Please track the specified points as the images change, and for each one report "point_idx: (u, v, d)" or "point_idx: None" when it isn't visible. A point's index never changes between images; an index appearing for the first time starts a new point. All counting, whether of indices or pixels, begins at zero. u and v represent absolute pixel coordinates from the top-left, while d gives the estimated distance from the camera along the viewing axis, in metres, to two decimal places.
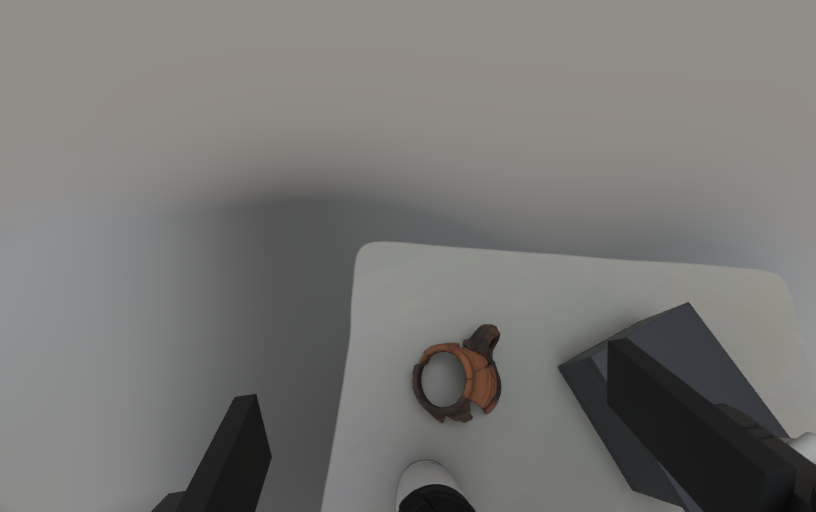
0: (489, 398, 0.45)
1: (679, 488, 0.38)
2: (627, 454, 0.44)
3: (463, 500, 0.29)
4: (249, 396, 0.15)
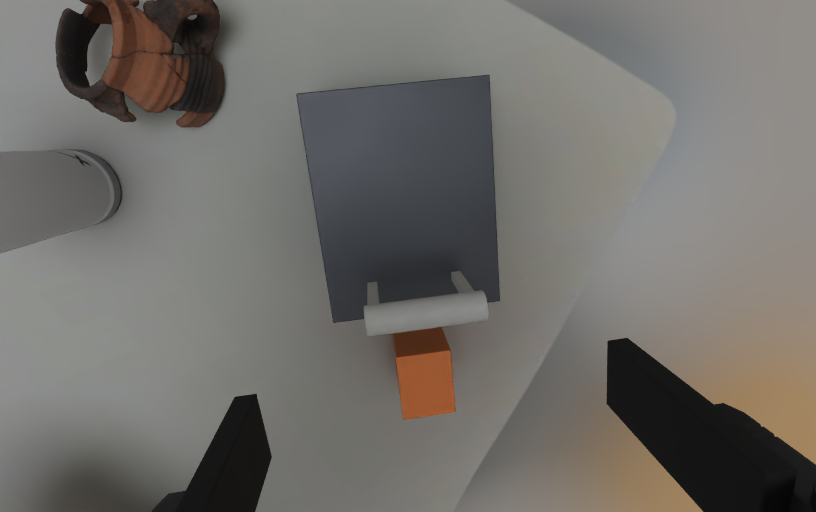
0: (161, 102, 0.30)
1: (333, 290, 0.30)
2: None
3: None
4: (249, 396, 0.15)
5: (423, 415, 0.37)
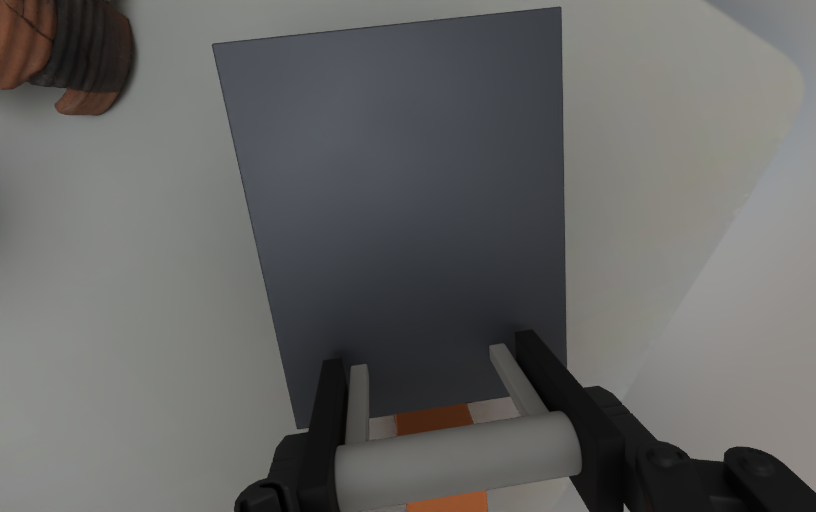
0: (5, 70, 0.18)
1: (293, 379, 0.18)
2: None
3: None
4: (336, 359, 0.17)
5: None
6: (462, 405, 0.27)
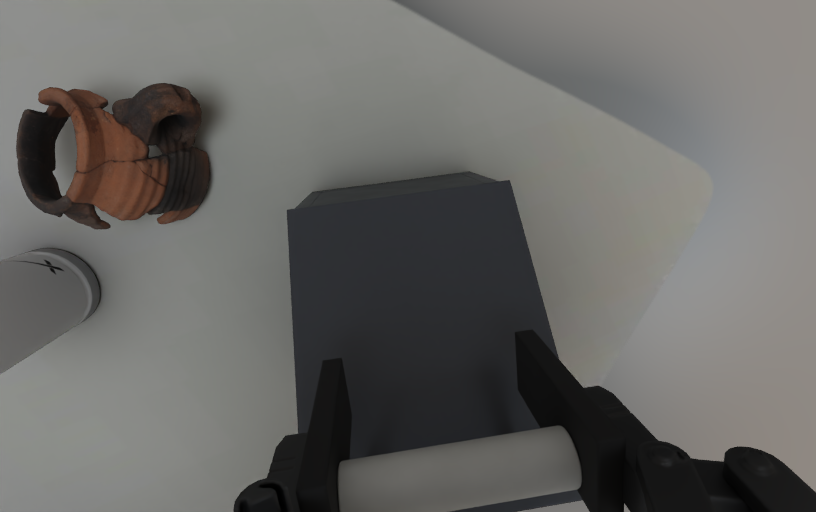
0: (136, 210, 0.27)
1: None
2: None
3: None
4: (336, 359, 0.17)
5: None
6: None
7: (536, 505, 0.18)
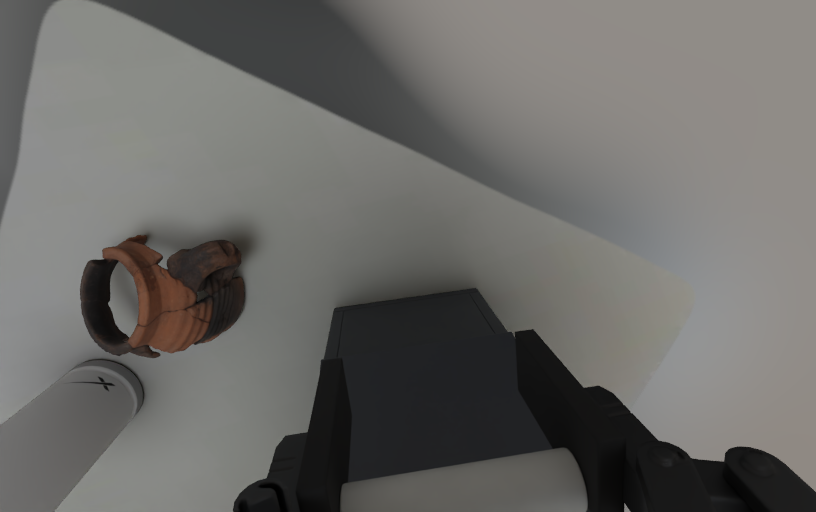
0: (185, 345, 0.30)
1: None
2: None
3: None
4: (336, 359, 0.17)
5: None
6: None
7: None
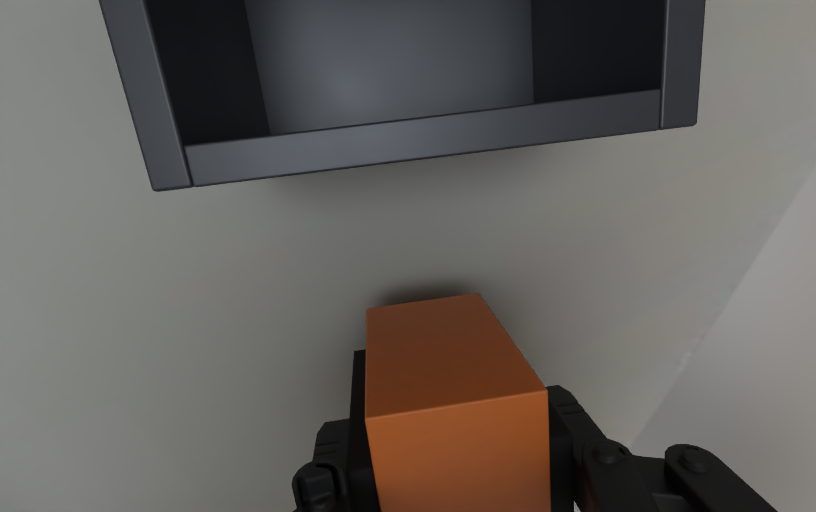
0: None
1: None
2: None
3: None
4: None
5: None
6: (493, 325, 0.14)
7: None
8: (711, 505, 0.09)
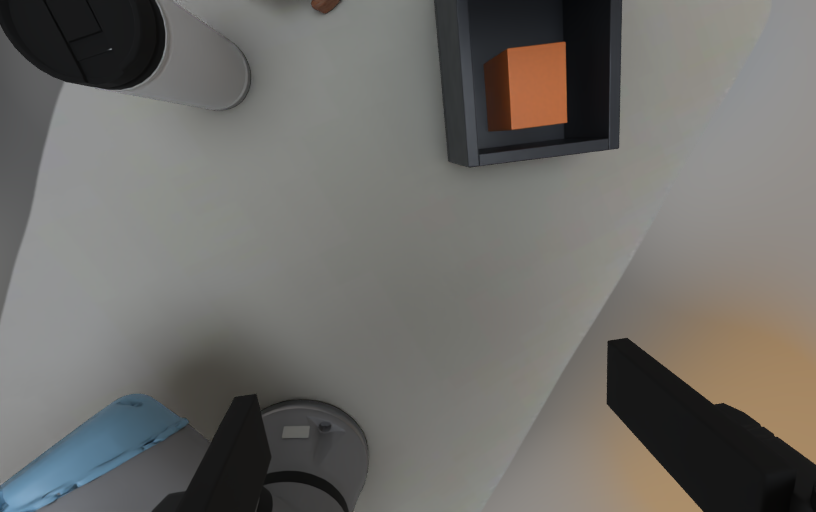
0: None
1: None
2: (452, 111, 0.36)
3: None
4: (249, 396, 0.15)
5: (533, 125, 0.34)
6: None
7: None
8: None
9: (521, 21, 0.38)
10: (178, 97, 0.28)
